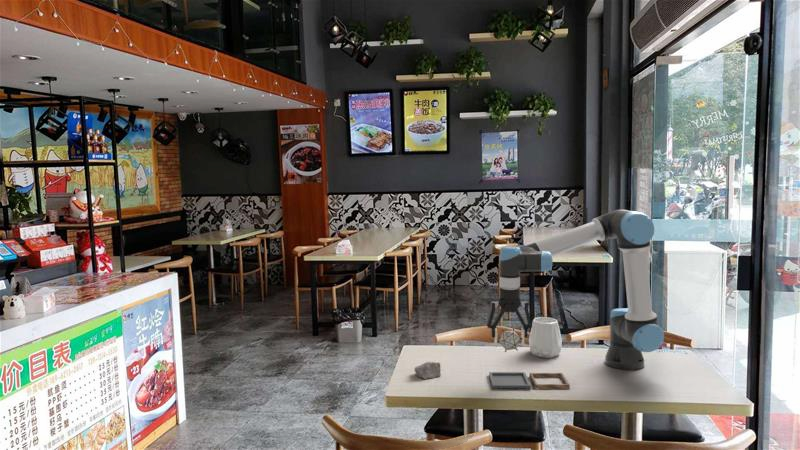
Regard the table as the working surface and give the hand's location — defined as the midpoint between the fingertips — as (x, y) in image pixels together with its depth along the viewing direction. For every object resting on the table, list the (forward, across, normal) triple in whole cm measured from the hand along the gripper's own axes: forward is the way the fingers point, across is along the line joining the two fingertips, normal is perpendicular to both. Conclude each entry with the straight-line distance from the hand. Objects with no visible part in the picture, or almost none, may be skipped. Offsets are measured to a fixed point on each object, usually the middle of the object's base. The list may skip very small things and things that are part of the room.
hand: (509, 345), depth 229 cm
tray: (+14, 0, 0) cm, 14 cm away
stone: (+15, +31, -7) cm, 35 cm away
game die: (+2, 0, 0) cm, 2 cm away
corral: (+14, -15, 0) cm, 21 cm away
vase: (+15, -20, -34) cm, 42 cm away
